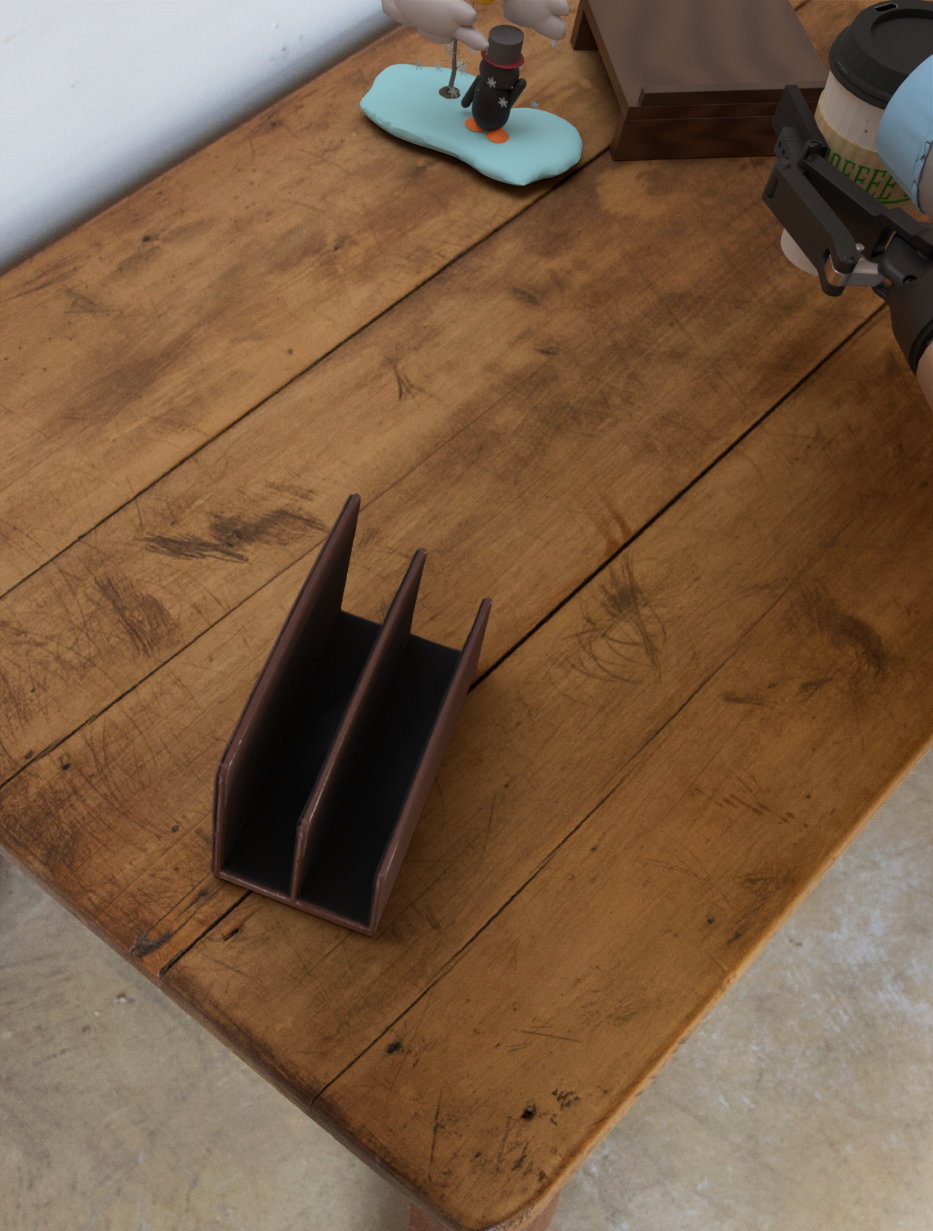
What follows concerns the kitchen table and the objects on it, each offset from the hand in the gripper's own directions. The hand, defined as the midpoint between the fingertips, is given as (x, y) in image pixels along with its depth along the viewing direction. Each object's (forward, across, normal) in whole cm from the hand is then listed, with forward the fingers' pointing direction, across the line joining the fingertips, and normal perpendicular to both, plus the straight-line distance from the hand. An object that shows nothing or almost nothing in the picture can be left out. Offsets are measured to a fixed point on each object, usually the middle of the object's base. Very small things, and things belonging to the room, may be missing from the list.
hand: (853, 101), depth 83 cm
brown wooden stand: (+28, +2, -18) cm, 33 cm away
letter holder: (-38, -36, -18) cm, 55 cm away
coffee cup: (-5, 0, -8) cm, 9 cm away
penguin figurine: (+23, -19, -18) cm, 35 cm away
